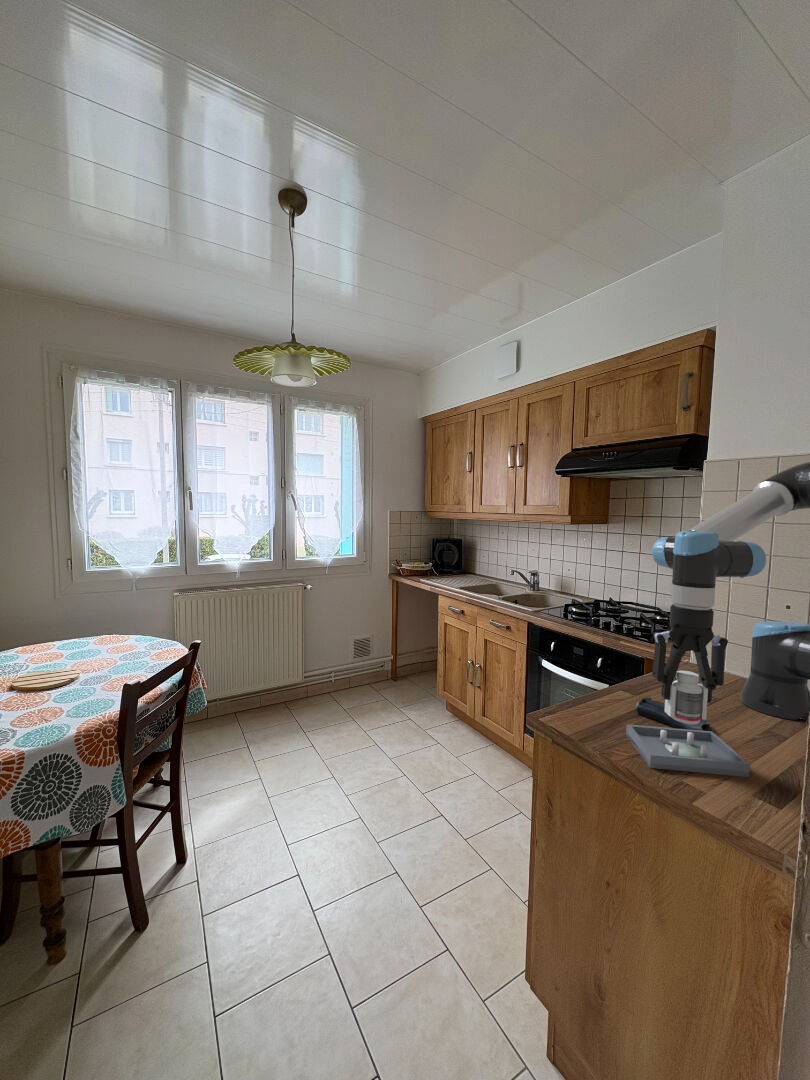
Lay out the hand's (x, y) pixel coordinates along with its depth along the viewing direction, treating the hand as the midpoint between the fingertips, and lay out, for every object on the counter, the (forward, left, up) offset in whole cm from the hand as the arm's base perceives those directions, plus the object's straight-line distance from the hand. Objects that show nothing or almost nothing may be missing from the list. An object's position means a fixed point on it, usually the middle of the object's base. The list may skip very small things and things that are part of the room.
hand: (684, 715), depth 92 cm
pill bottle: (0, 0, -1) cm, 1 cm away
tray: (0, 0, -9) cm, 9 cm away
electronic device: (-5, -17, -9) cm, 20 cm away
